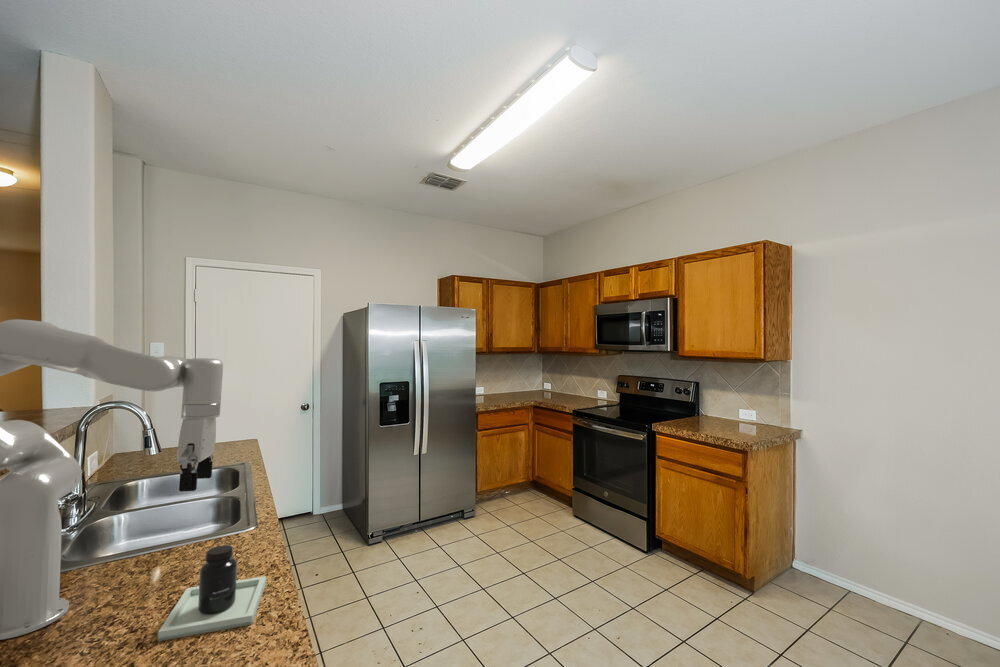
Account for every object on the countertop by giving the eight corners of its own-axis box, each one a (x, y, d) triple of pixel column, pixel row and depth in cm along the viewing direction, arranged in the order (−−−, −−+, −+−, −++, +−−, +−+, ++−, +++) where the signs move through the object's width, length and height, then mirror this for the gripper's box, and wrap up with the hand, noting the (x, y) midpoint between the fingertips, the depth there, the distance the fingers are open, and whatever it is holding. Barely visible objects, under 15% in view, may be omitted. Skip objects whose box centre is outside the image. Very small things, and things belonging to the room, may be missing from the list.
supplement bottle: (217, 617, 90) (219, 559, 90) (189, 613, 91) (191, 555, 91) (243, 599, 96) (244, 544, 97) (217, 595, 98) (218, 541, 98)
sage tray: (157, 641, 83) (158, 632, 83) (186, 596, 98) (187, 588, 98) (252, 624, 88) (252, 615, 89) (266, 583, 104) (266, 576, 104)
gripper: (196, 405, 109) (191, 474, 108) (166, 416, 93) (160, 497, 92) (230, 406, 111) (226, 473, 111) (206, 416, 95) (200, 495, 94)
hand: (196, 484), depth 101 cm, fingers open, 9 cm apart
